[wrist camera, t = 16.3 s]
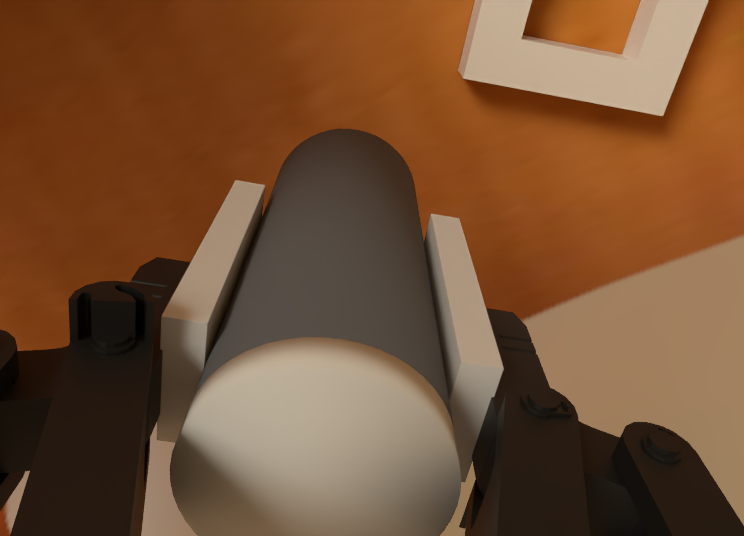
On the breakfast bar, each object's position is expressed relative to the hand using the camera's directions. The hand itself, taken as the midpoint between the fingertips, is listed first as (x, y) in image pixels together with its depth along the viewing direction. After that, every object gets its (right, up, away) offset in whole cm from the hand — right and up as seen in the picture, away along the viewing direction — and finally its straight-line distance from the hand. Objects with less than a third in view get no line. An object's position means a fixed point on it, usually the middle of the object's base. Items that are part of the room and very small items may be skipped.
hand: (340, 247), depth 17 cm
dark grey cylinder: (0, +2, +3) cm, 4 cm away
